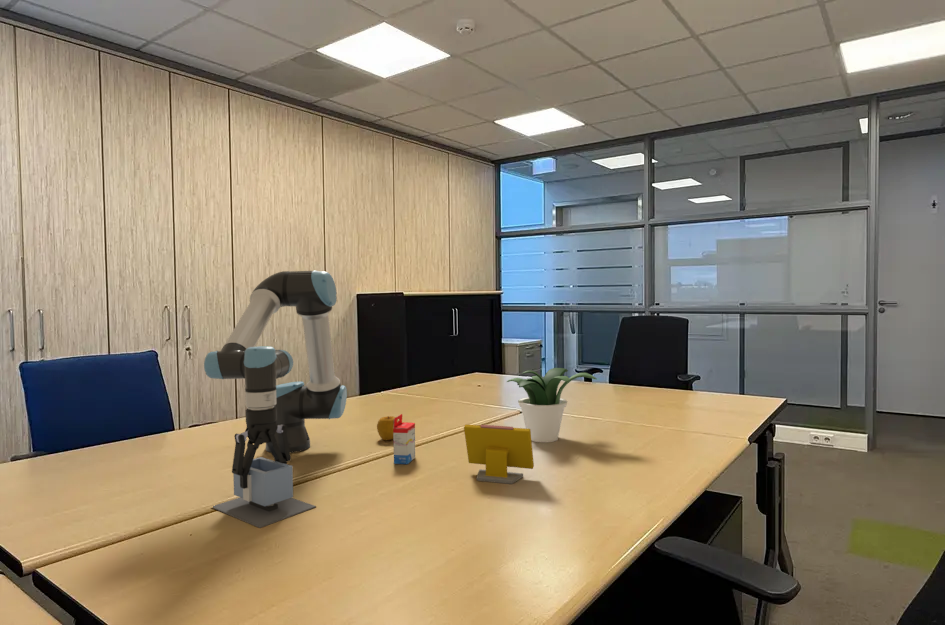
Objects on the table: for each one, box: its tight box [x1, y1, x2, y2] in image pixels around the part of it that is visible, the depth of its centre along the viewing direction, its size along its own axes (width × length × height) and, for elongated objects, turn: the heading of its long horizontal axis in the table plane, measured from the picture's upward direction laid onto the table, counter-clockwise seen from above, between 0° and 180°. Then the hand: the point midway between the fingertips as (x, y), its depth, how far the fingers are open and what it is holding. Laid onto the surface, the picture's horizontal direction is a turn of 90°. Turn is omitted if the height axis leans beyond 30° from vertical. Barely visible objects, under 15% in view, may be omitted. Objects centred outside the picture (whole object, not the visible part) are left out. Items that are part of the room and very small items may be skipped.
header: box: [212, 497, 317, 529], centre depth 146 cm, size 22×16×7 cm
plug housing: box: [232, 456, 294, 506], centre depth 146 cm, size 14×8×8 cm, turn 53°
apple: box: [376, 415, 399, 441], centre depth 213 cm, size 8×8×9 cm
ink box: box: [392, 413, 416, 465], centre depth 186 cm, size 8×5×15 cm, turn 168°
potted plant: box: [506, 367, 597, 443], centre depth 212 cm, size 32×35×26 cm
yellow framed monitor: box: [463, 424, 535, 485], centre depth 167 cm, size 20×8×16 cm, turn 71°
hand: (263, 495), depth 146 cm, fingers closed on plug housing, 8 cm apart
